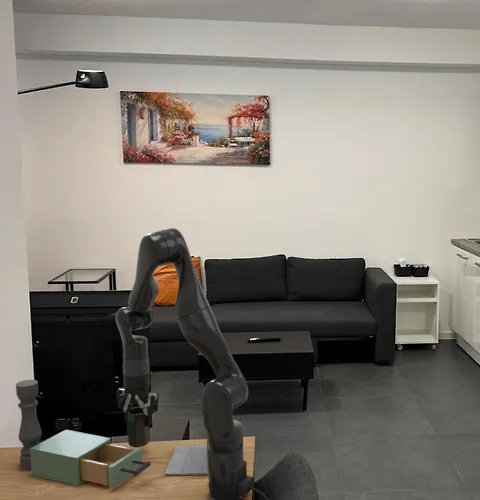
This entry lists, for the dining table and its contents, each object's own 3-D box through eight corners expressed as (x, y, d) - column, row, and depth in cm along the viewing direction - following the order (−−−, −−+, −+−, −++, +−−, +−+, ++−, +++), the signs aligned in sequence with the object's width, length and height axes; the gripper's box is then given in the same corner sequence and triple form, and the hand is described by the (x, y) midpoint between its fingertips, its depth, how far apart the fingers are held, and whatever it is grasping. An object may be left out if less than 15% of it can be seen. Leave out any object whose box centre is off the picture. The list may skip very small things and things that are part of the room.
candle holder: (34, 471, 187) (29, 387, 183) (15, 468, 188) (9, 386, 184) (48, 461, 193) (43, 380, 189) (30, 459, 194) (24, 378, 190)
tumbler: (153, 441, 200) (152, 408, 199) (140, 449, 194) (139, 415, 193) (136, 437, 202) (136, 405, 201) (123, 446, 196) (122, 412, 195)
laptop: (176, 447, 202) (175, 407, 200) (217, 447, 203) (216, 407, 201) (164, 476, 184) (162, 432, 183) (208, 475, 185) (208, 431, 183)
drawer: (158, 472, 185) (157, 451, 184) (129, 493, 173) (128, 470, 172) (98, 459, 192) (97, 439, 191) (67, 479, 180) (66, 457, 180)
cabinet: (112, 464, 191) (110, 438, 190) (78, 486, 179) (76, 458, 177) (67, 454, 197) (66, 429, 196) (31, 475, 184) (29, 448, 183)
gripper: (108, 372, 194) (110, 425, 196) (148, 378, 189) (150, 432, 192) (125, 364, 201) (127, 416, 203) (164, 370, 196) (165, 423, 199)
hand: (138, 423), depth 197 cm, fingers closed on tumbler, 6 cm apart
